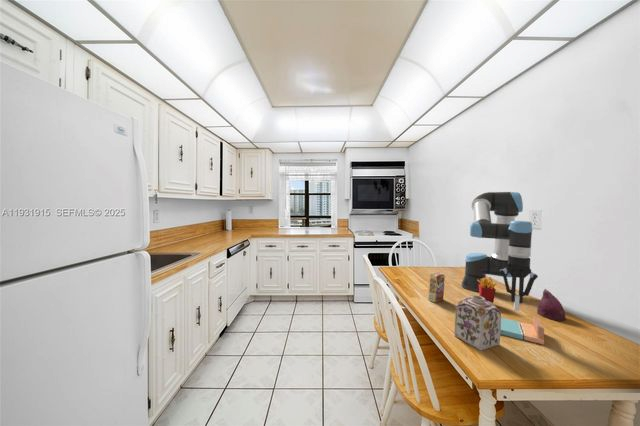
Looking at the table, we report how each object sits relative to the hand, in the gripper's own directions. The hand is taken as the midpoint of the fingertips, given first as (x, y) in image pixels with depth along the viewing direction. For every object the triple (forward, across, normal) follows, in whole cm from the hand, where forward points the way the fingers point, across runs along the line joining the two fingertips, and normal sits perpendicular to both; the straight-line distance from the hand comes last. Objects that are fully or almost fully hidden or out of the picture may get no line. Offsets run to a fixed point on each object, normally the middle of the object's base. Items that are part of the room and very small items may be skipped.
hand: (516, 309), depth 105 cm
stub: (+10, +5, 0) cm, 11 cm away
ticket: (+10, -4, 0) cm, 11 cm away
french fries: (+10, -11, +30) cm, 33 cm away
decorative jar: (+10, -14, -18) cm, 25 cm away
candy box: (+10, -34, +18) cm, 39 cm away
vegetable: (+10, +17, +30) cm, 36 cm away
